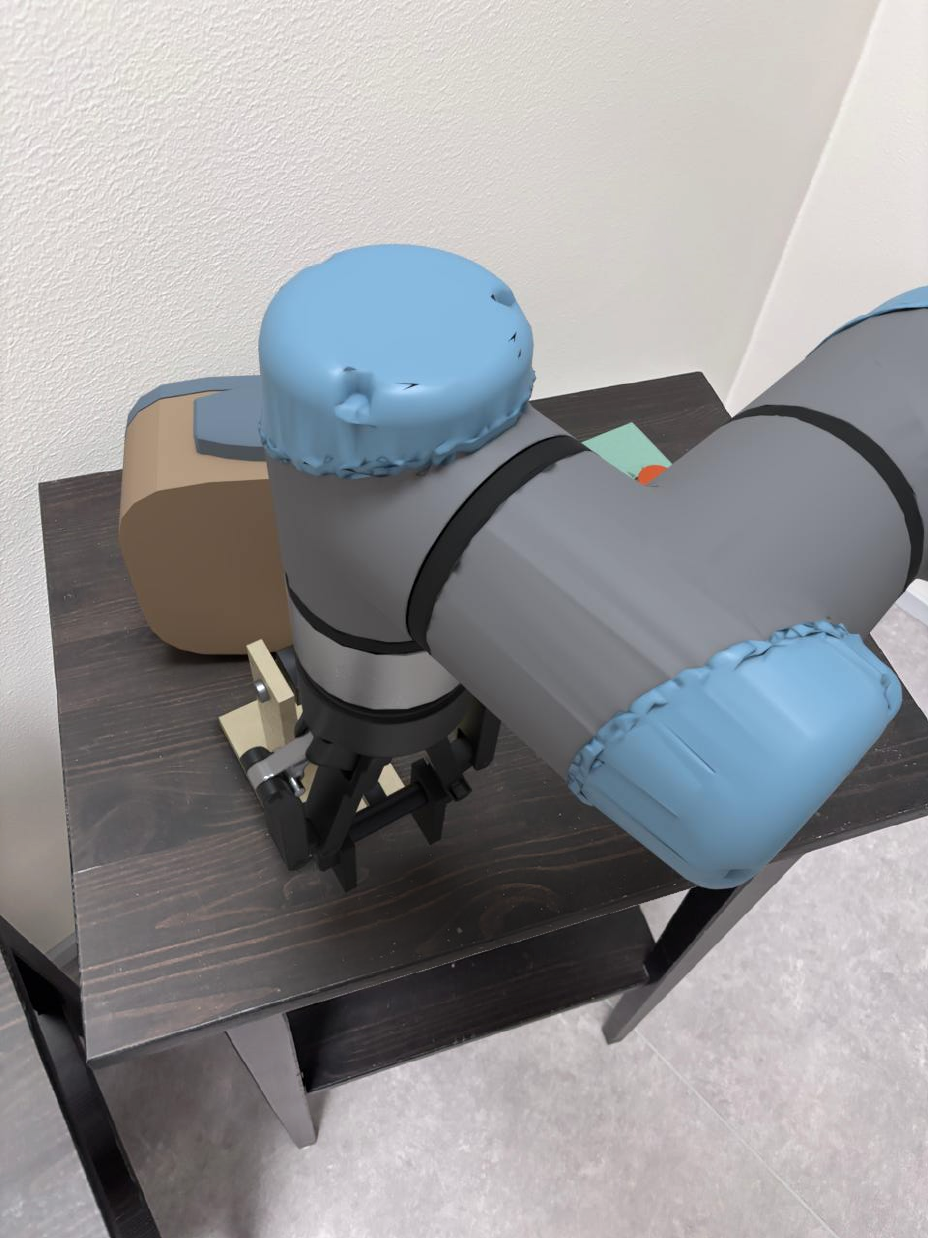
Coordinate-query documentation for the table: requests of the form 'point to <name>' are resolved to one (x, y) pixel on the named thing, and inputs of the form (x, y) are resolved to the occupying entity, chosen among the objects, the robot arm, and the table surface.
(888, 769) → the table surface
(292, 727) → the hinged lever switch
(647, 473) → the button
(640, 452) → the button box
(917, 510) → the robot arm
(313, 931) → the table surface
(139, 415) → the alarm clock
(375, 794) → the lever
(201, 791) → the table surface
